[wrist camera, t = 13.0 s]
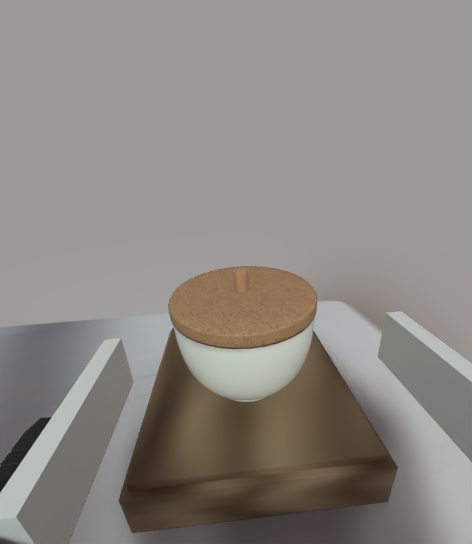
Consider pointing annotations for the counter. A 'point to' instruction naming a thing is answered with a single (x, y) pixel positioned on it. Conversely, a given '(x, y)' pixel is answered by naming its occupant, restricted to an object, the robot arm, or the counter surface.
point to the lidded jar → (244, 329)
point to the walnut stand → (251, 450)
